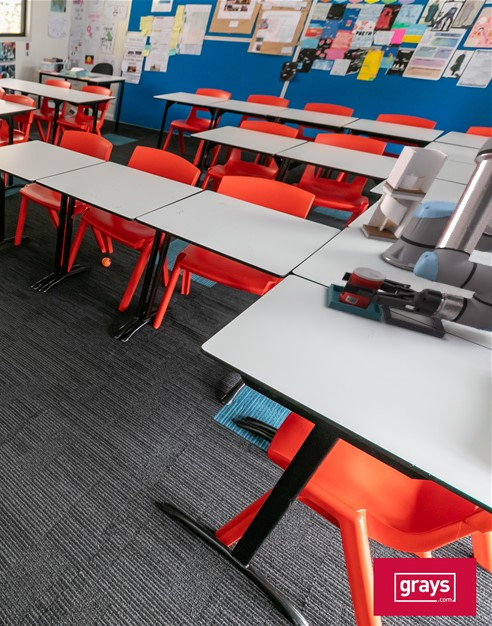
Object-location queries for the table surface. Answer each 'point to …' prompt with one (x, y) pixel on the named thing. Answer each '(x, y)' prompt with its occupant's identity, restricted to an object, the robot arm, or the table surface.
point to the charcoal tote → (415, 327)
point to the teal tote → (370, 312)
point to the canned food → (364, 279)
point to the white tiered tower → (404, 192)
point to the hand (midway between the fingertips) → (344, 281)
